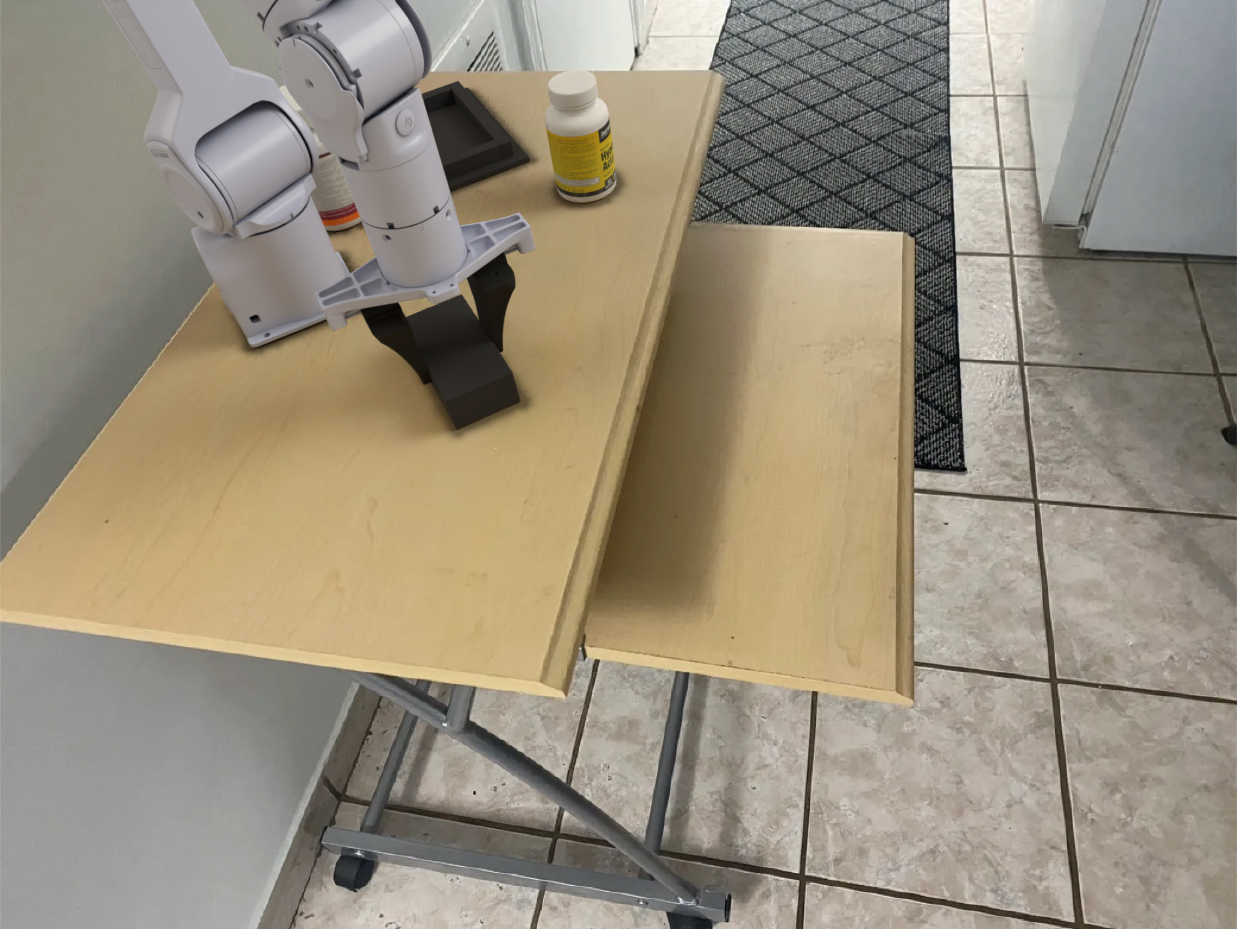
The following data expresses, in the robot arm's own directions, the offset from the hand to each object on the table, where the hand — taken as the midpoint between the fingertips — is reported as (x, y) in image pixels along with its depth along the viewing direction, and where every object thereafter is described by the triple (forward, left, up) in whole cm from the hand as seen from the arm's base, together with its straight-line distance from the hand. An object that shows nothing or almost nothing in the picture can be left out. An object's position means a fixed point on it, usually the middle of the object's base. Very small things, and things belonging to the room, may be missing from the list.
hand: (459, 360), depth 66 cm
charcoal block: (0, 0, -1) cm, 1 cm away
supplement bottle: (+18, +16, -2) cm, 24 cm away
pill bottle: (-2, +26, -2) cm, 26 cm away
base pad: (+10, +31, -1) cm, 33 cm away
